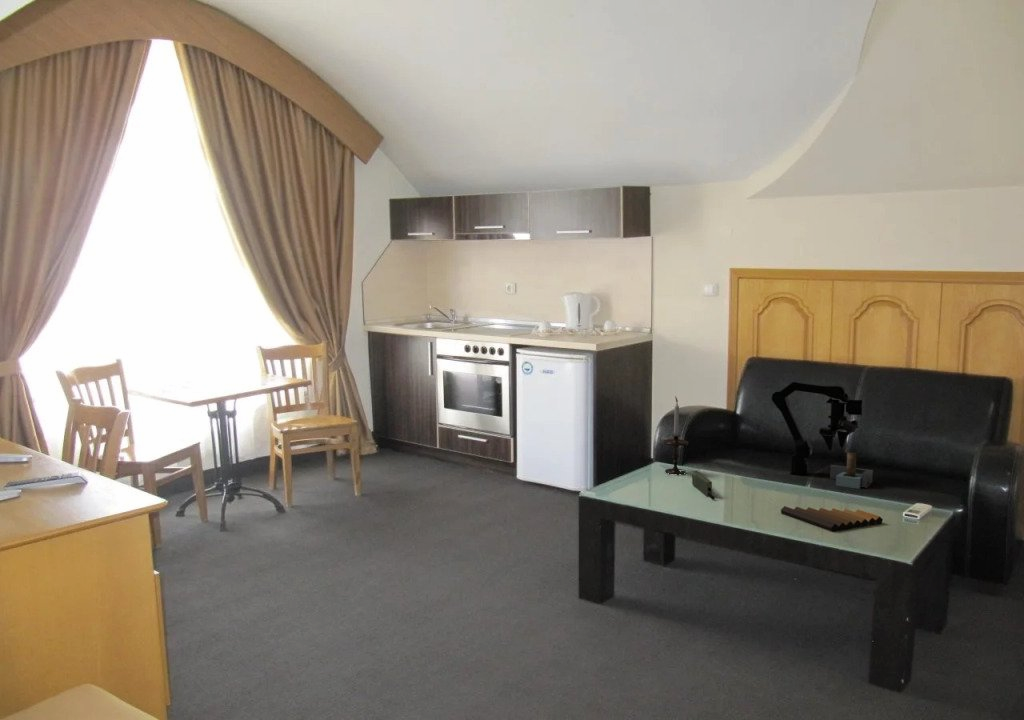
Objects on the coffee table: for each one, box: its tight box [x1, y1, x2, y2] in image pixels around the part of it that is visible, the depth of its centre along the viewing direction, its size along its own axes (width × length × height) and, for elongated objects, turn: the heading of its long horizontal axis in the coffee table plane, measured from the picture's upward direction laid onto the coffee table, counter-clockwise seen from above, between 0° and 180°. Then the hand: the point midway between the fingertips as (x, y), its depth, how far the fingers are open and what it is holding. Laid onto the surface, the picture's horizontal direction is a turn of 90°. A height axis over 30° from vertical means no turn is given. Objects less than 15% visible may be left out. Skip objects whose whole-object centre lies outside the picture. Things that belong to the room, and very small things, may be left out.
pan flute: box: [780, 505, 884, 533], centre depth 319 cm, size 25×3×25 cm
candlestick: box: [663, 395, 689, 475], centre depth 389 cm, size 11×11×35 cm
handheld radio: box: [691, 470, 716, 500], centre depth 356 cm, size 7×3×25 cm
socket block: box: [835, 472, 862, 489], centre depth 370 cm, size 10×10×4 cm
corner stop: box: [829, 464, 874, 487], centre depth 372 cm, size 17×10×6 cm, turn 55°
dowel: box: [846, 452, 857, 477], centre depth 369 cm, size 4×4×13 cm
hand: (836, 448), depth 381 cm, fingers open, 9 cm apart
